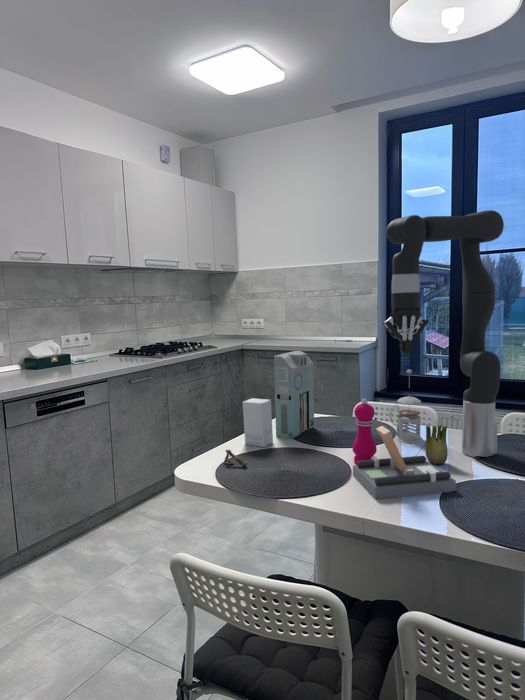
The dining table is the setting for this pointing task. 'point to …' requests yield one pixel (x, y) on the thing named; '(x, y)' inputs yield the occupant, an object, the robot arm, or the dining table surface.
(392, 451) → the lever
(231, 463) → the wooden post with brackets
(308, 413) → the device
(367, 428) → the pepper mill
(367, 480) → the panel
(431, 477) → the pair of dark bars
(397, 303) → the robot arm
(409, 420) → the french press
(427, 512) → the dining table surface
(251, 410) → the skincare box
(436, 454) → the fennel bulb
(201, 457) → the dining table surface
